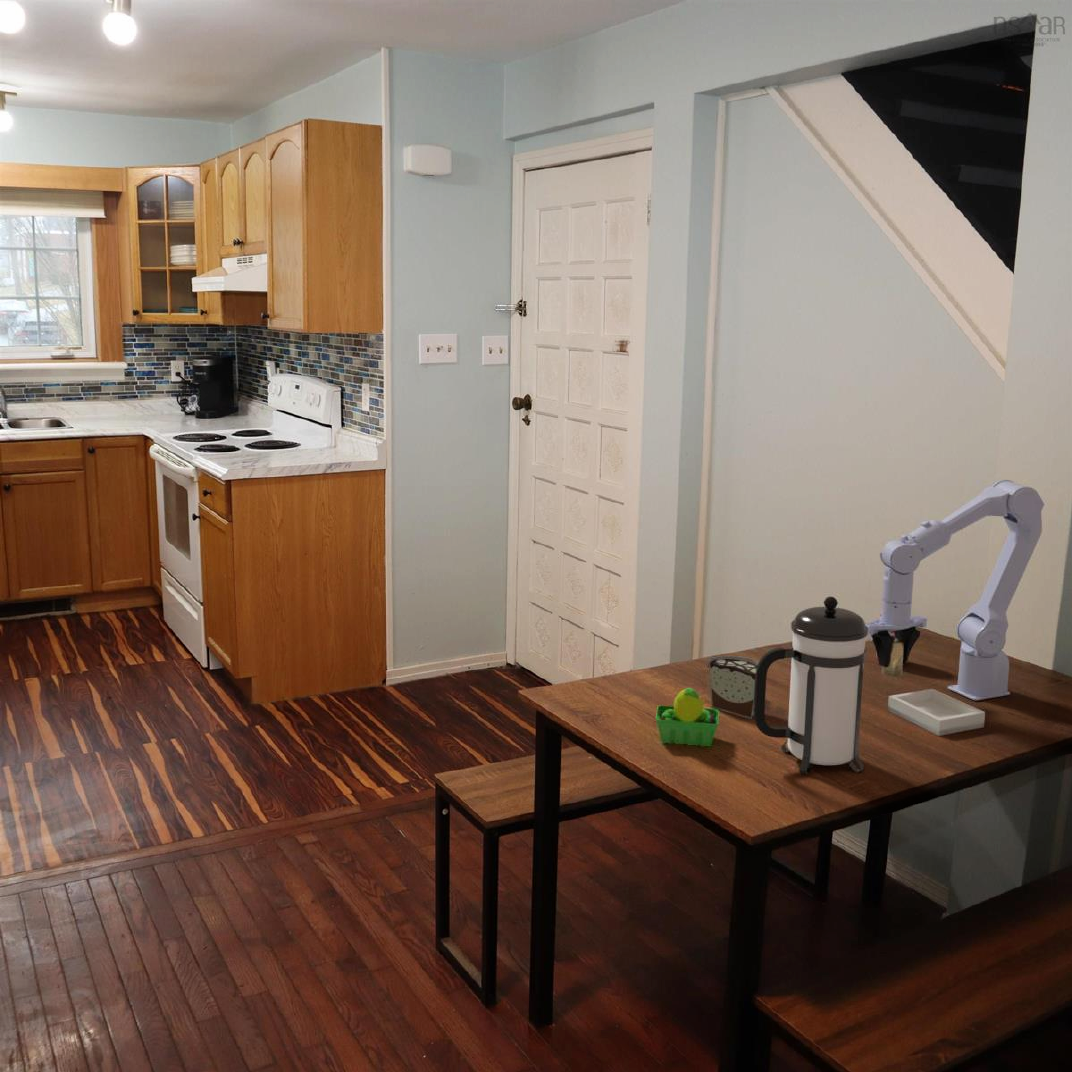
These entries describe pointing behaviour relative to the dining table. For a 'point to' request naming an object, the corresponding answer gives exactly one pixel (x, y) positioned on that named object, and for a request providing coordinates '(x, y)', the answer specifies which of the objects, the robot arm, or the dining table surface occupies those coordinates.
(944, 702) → the tray
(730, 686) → the food container
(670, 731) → the fruit basket
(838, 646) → the coffee press
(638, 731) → the dining table surface
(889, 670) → the battery cell
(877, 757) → the dining table surface
